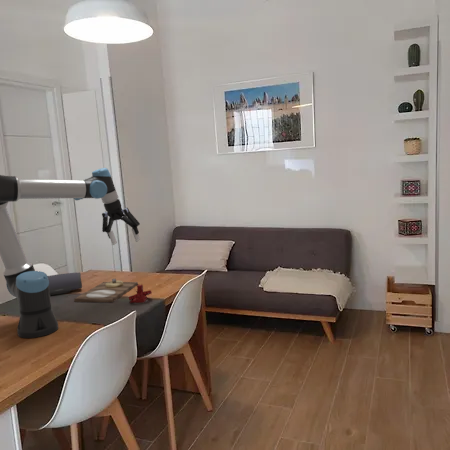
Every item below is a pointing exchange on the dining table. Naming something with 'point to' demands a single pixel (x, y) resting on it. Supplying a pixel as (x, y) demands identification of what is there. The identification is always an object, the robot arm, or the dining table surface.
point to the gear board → (106, 291)
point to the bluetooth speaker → (64, 283)
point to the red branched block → (139, 295)
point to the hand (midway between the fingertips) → (126, 242)
